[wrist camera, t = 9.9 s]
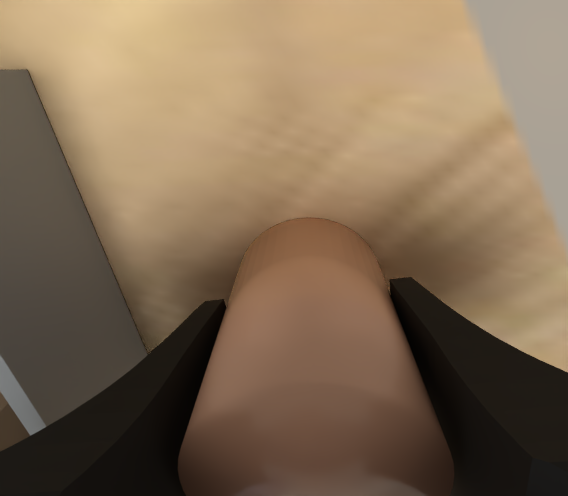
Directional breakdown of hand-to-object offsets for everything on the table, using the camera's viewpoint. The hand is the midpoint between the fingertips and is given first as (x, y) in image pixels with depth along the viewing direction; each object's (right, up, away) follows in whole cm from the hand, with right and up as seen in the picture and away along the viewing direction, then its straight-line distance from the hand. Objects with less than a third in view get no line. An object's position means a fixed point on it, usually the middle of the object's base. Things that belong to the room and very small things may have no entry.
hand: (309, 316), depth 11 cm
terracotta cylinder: (0, +1, +2) cm, 2 cm away
